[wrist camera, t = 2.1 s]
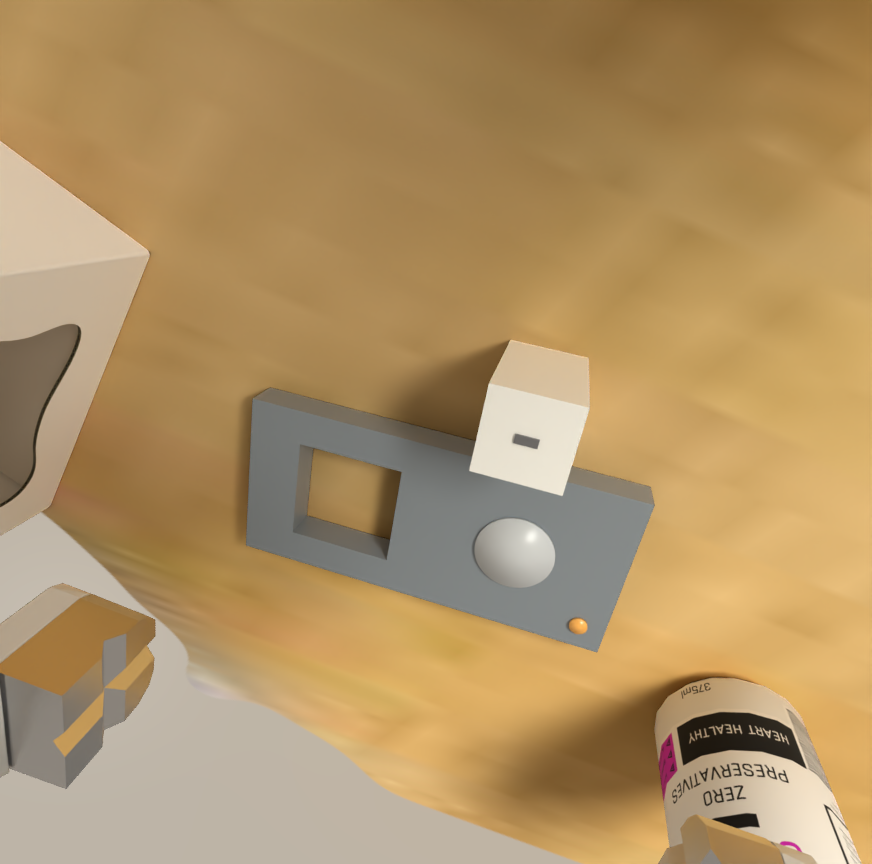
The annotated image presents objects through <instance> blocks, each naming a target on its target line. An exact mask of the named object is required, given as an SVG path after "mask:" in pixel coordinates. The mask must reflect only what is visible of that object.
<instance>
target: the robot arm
mask: <svg viewBox="0 0 872 864" xmlns="http://www.w3.org/2000/svg"><path fill="white" fill-rule="evenodd" d="M154 637H155V619H153V618H151V617H148V616H146V615H144V614H141V613H139V612H136V611H133V610H131V609H128V608H126V607H123V606H121V605H118V604H116V603H113V602H111V601H108V600H105V599H103V598H101V597H98V596H96V595H93V594H90V593H87V592H85V591H82V590H80V589H77V588H74V587H72V586H69V585H66V584H63V583H62V584H59V585H56V586H52V587H50V588H48V589H47V590H45V591H44V592H43V593H41V594H40V595H38V596H37V597H36V598H34V599H33V600H32V601H30V602H29V603H28V604H26V605H25V606H24V607H22V608H21V609H20V610H18V611H17V612H16V613H14V614H13V615H12V616H10V617H9V618H7V619H6V620H5V621H3V622H2V623H1V624H0V777H2V776H4V775H6V774H8V772H9V768H10V769H12V770H15V771H18V772H21V773H23V774H26V775H29V776H32V777H35V778H38V779H40V780H43V781H45V782H48V783H51V784H54V785H56V786H59V787H62V788H65V789H67V787H68V786H69V785H70V784H71V783H72V782H73V780H74V779H75V778H76V777H77V776H78V775H79V773H80V772H81V771H82V770H83V769H84V768H85V766H86V765H87V764H88V763H89V762H90V760H91V759H92V758H93V757H94V756H95V755H96V754H97V753H98V751H99V750H100V749H101V748H102V744H103V734H104V730H105V729H107V728H109V727H112V726H114V725H116V724H118V723H121V722H123V721H125V720H126V718H127V717H128V716H129V715H130V714H131V712H132V711H133V710H134V708H136V706H137V705H138V704H139V702H140V700H141V698H142V696H143V695H144V693H145V691H146V689H147V688H148V685H149V683H150V680H151V677H152V673H153V669H154V657H153V655H152V653H151V652H150V650H149V648H148V647H147V645H148V644H149V642H150V641H151V640H152V639H153V638H154ZM680 830H681V836H682V842H683V843H682V844H679V845H676V846H673V847H670V848H667V850H666V851H665V853H664V855H663V856H662V858H661V860H660V861H659V863H658V864H817V862H816V861H815V860H814V858H813V857H812V856H811V855H808V854H805V853H803V852H800V851H797V850H794V849H792V848H789V847H786V846H783V845H781V844H778V843H775V842H772V841H769V840H767V839H766V838H763V837H760V836H758V835H755V834H752V833H749V832H746V831H743V830H740V829H737V828H735V827H732V826H729V825H726V824H723V823H720V822H717V821H714V820H712V819H709V818H706V817H703V816H700V815H697V814H696V815H693V816H691V817H688V818H687V820H686V821H685V823H684V824H683V826H682V827H681V828H680Z"/></svg>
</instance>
